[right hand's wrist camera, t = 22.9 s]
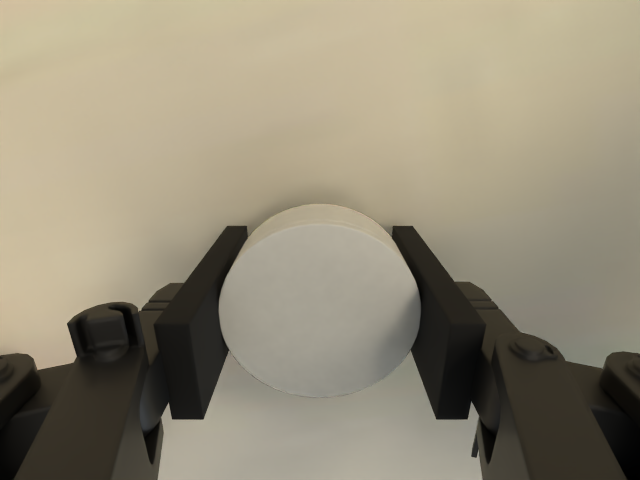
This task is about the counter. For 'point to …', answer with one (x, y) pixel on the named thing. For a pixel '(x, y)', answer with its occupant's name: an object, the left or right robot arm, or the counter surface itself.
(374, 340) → the lid
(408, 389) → the counter surface
